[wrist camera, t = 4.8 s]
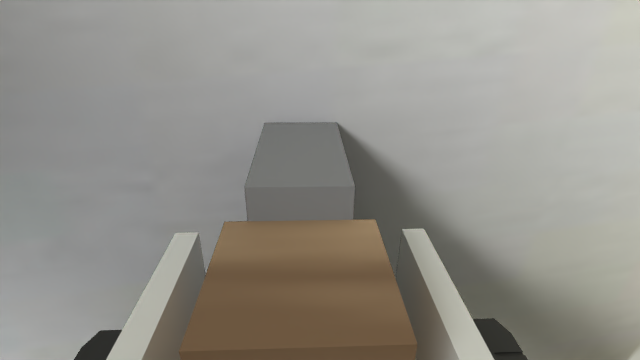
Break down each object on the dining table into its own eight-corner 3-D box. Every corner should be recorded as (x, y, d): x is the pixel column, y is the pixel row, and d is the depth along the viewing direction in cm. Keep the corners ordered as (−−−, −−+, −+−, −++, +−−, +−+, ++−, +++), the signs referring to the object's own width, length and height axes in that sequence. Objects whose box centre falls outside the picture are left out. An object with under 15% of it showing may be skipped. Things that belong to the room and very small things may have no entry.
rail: (264, 123, 14) (244, 187, 9) (336, 122, 14) (355, 186, 9) (279, 386, 21) (272, 505, 16) (328, 384, 21) (337, 502, 16)
